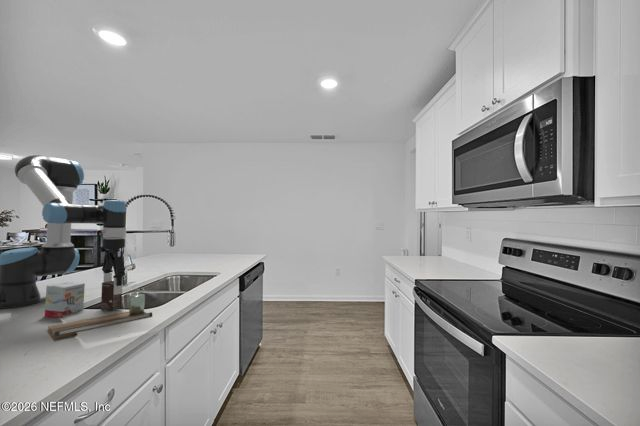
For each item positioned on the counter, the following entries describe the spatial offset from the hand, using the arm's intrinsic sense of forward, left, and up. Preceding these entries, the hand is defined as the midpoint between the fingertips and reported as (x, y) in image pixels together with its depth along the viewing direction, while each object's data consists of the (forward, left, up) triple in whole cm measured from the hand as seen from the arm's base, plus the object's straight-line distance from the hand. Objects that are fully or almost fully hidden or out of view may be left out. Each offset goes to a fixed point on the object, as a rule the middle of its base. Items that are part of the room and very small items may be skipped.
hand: (112, 291), depth 122 cm
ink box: (-9, -13, -9) cm, 18 cm away
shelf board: (+14, -6, -8) cm, 17 cm away
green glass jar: (+13, +5, -7) cm, 15 cm away
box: (0, 0, -9) cm, 9 cm away
